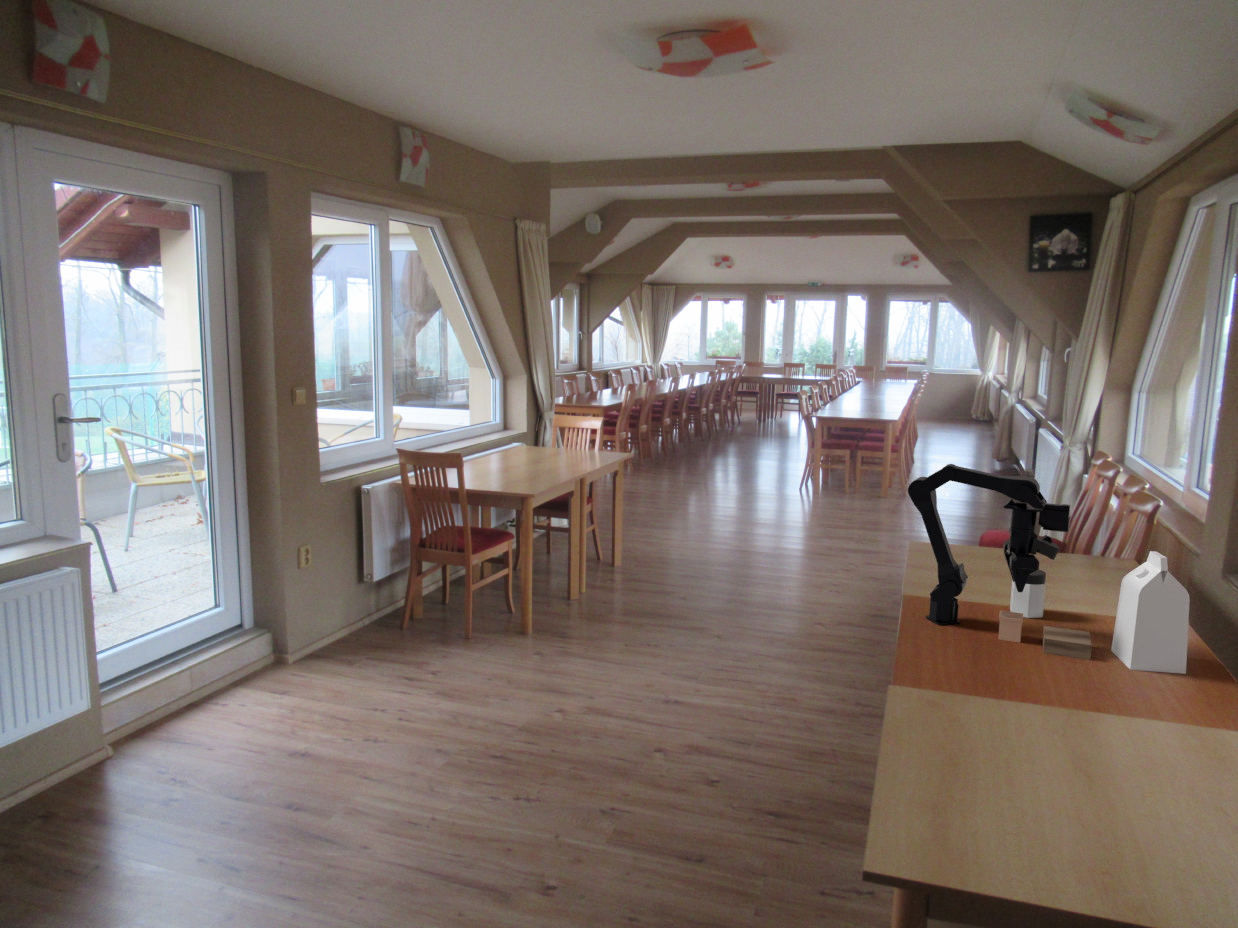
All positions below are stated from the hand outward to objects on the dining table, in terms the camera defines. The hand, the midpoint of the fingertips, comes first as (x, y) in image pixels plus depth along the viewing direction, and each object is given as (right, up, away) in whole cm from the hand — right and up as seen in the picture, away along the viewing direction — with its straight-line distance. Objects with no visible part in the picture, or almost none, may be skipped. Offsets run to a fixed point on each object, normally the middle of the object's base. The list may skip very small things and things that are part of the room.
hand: (1017, 586), depth 216 cm
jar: (+10, -10, +17) cm, 22 cm away
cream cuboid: (-3, -13, -1) cm, 13 cm away
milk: (+23, -15, -17) cm, 32 cm away
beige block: (+7, -14, -9) cm, 19 cm away
